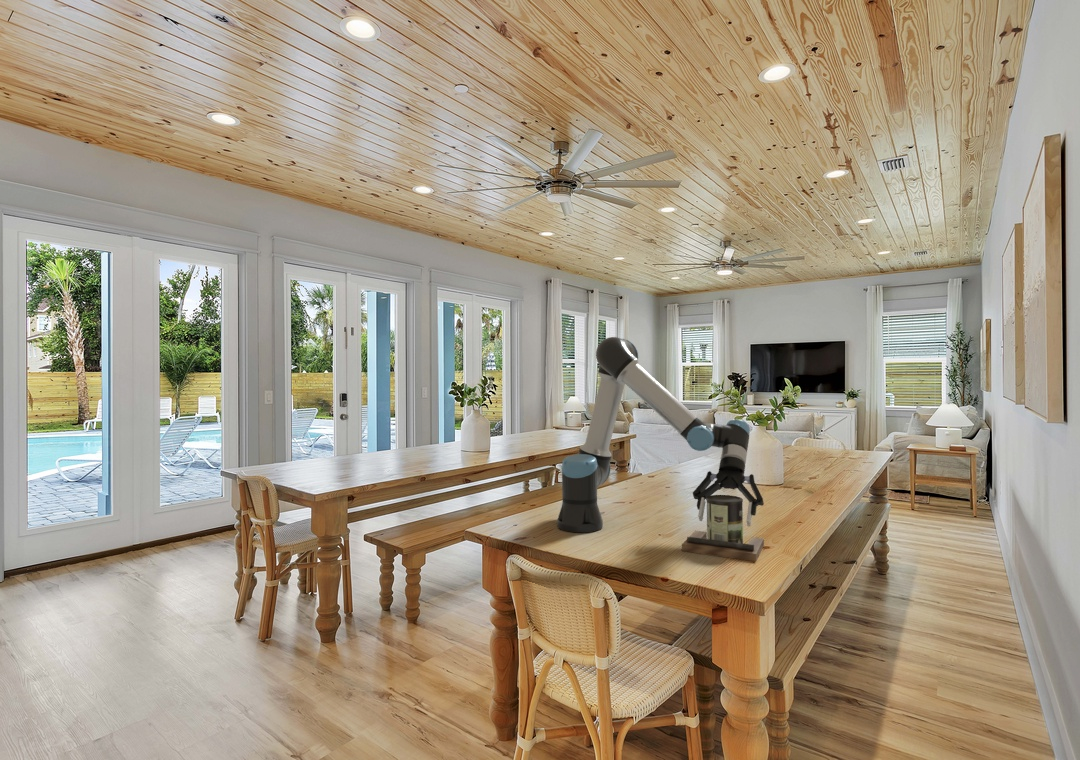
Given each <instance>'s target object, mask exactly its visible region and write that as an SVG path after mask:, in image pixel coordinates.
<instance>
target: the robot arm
mask: <svg viewBox="0 0 1080 760" xmlns="http://www.w3.org/2000/svg"><path fill="white" fill-rule="evenodd" d="M595 358H596V361H597V363H598V365H599V367H598V369H597V374H598V376H599V377H600V381H599V385H598V389H597V392H596V393H597V394H596V397H595V401H594V406H593V410H592V414H591V418H590V423H589V426H588V431H587V435H586V440H585V443H583V444H581V445H580V446H579V449H578V453H576V454H573V455H568V456H566V457H564V458H563V459H562V463H561V483H562V484H561V485H562V487H561V490H562V491H561V493H562V494H561V495H562V501H561V506H560V511H559V513H558V517H557V523H556V524H557V526H556V527H557V528H558V529H559V530H560V531H564V532H570V533H592V532H596V531H597V532H598V531H600V530H601V529H603V528H604V527H603V524H604V523H603V518H602V515H601V512H600V508H599V504H598V487H600V486H602V485H603V484H604V483H605V482H607V480H608V479H609V477H610V474H611V459H612V453H611V451H610V446H611V441H612V437H613V435H614V429H615V426H616V421H617V418H618V412H619V410H620V405H621V402H622V397H623V393H624V389H625V386H627V387H628V388H630V390H631V391H633V392H634V393H635V394H636V395H637V396H638V397H639V398H640V399H641V400H642V401H644V402H645V403H646V404H647V406H649V407H650V408H651V409H652V410H653V411H654V412H655V413H656V414H657V415H659V416H660V418H662V419H663V420H664V421H665V422H666V423H667V424H668V425H669V426H671V427H672V428H673V429H674V430H675V431H676V432H677V433H678V434H679V435H680V436H681V437H682V438H683V439H684V440H685V441H686V442H687V443H688V446H690V448H691V449H693V450H694V451H698V452H703V451H706V450H708V449H710V448H711V447H715V448H721V454H720V461H719V465H718V467H719V468H718V472H717V473H712V471H711V470H710V471H707V473H706V476H705V477H704V478H703V480H702V481H701V482H700V483H699V485H698V486H697V487H696V488H695V489H694V491H693V492H692V496H693V499H694V500H697V502H696V508H697V510H698V514H697V516H698V519H699V521H700V522H703V521H704V520H703V518H704V513H705V509H706V508H705V507H706V504H707V501H706V497H707V496H711V495H713V494H715V492H718V491H720V490H721V489H727V490H728V489H730V490H736V489H737V490H738V491H739V492H740V493H742V495H743V496H744V497H745V499H746V500H747V501H748V504H747V505H748V506H747V507H748V508H747V513H746V526H747V527H751V524H752V517H753V516H756V514H757V507H759V506H761V507H762V506H764V505H765V503H764V498H763V496H762V494H761V492H760V491H759V489H758V486H757V485H756V481H755V476H754V473H753V474H752V473H751V474H749V475H746V476H745V470H746V463H747V455H748V448H749V441H750V431H751V430H750V426H749V424H748V423H747V422H746V421H744V420H742V419H739V418H738V419H731V420H729V421H728V422H727V423H726V424H718V423H717V424H716V423H712V422H711V423H710V422H705V421H702V420H701V419H699V417H697V416H696V414H694V413H693V412H692V411H691V410H689V408H687V407H686V406H685V405H684V404H683V403H682V402H681V401H680V400H678V399H677V398H676V396H674V394H672V393H671V392H670V391H669V390H668V389H667V388H665V386H663V385H662V384H661V383H660V382H658V381H657V380H656V379H655V377H653V376H652V375H651V374H650V373H649V372H648V371H647V370H645V368H643V367H642V366H641V365H640V364H639V352H638V349H637V347H636V346H635V345H634V343H632V341H630V340H628V339H625V338H620V337H616V336H611V337H607V338H604V339H603V340H602V341H600V343H599V344H598V345H597V348H596V351H595ZM715 479H716V480H715ZM712 482H713V483H712ZM744 482H747V484H749V485H750V488H751V490H752V492H753V494H754V496H755V497H754V496H753V494H752V493H751V491H749V490H748V489H747V487H745V485H744ZM710 484H711V485H710Z"/></svg>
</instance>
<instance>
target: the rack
mask: <svg viewBox="0 0 1080 760" xmlns="http://www.w3.org/2000/svg"><path fill="white" fill-rule="evenodd" d="M764 546H765V539H764V538H762V537H761V538H760V537H752V536H750V539H749V540H748V542H747V543H744V542H743V543H735V542H727V541H719V540H711V539H707V531H704V530H703V531H701V530H694V531H693V532H692V533H691V534H690V535H689V536H687V537H686V540H685V541H683V542H682V543H681V551H682V552H685V551H688V552H687V553H693V552H694V553H693V554H700V553H701V555H709V556H715V557H723V558H731V559H737V560H745V561H752V562H757V561H758V558H759V556H760V554H761V553H762V550H763V548H764Z"/></svg>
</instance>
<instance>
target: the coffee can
mask: <svg viewBox="0 0 1080 760" xmlns="http://www.w3.org/2000/svg"><path fill="white" fill-rule="evenodd" d="M705 501H706V532H707V539H711V540H719V541H727V542H735V543H743V544H744V536H743V535H744V529H743V527H744V526H743V524H744V520H743V510H744V509H743V503H744V500H743V498H742V497H740V496H737V495H729V494H714V495H713V494H712V495H711V496H707V497H706V499H705Z"/></svg>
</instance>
